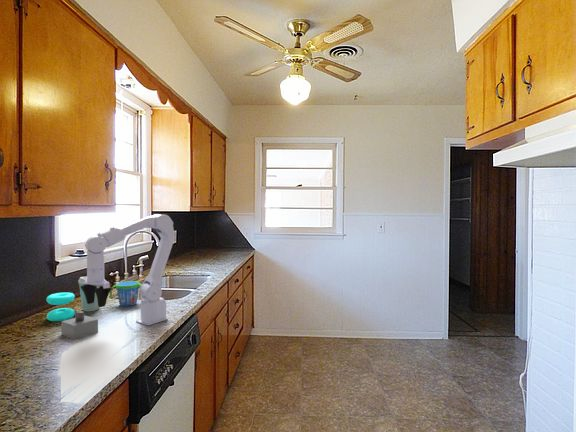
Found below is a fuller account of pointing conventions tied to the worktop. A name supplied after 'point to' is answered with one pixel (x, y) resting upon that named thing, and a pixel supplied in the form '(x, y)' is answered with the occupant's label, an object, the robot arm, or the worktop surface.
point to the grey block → (79, 326)
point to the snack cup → (127, 292)
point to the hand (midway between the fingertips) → (96, 304)
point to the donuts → (61, 312)
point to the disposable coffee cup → (85, 306)
